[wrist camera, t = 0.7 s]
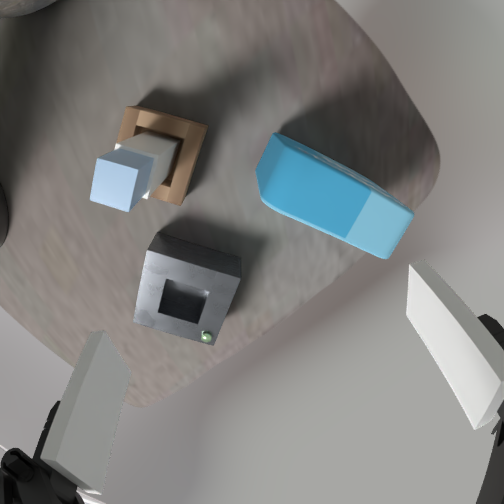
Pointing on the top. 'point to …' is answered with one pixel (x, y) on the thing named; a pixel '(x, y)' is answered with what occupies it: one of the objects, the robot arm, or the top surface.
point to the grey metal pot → (21, 7)
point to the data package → (330, 197)
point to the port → (186, 288)
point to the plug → (133, 170)
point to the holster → (174, 127)
